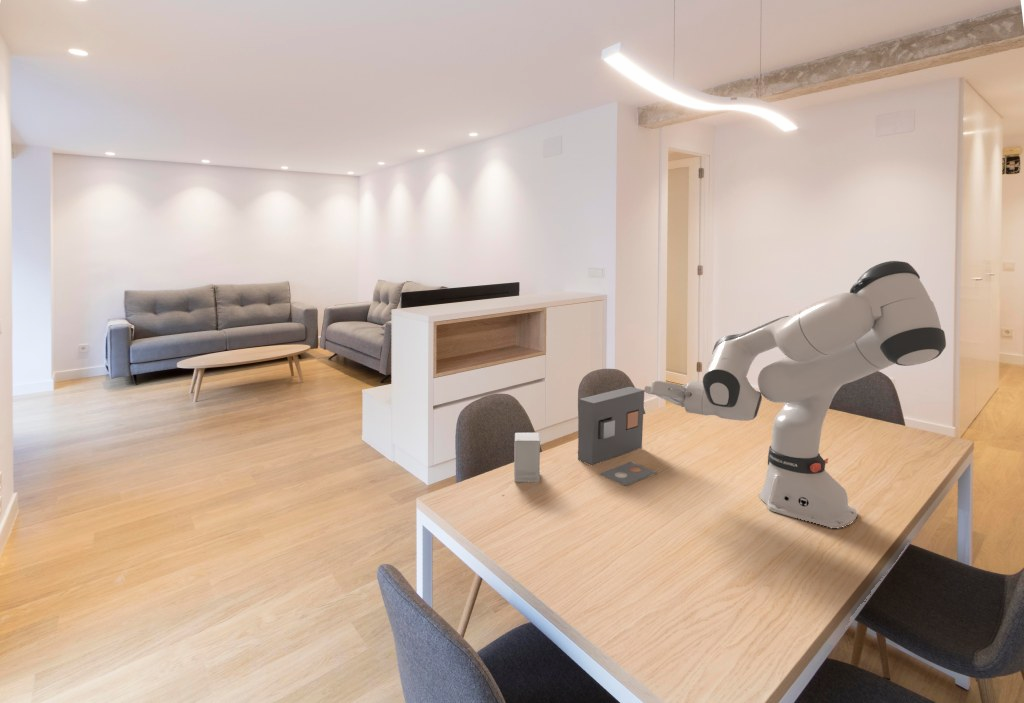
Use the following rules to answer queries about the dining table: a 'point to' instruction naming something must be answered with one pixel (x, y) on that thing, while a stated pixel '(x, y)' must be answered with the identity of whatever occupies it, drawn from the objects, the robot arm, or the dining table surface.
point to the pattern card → (627, 473)
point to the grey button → (606, 428)
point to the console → (616, 409)
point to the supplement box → (527, 457)
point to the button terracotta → (632, 419)
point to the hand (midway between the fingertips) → (646, 389)
